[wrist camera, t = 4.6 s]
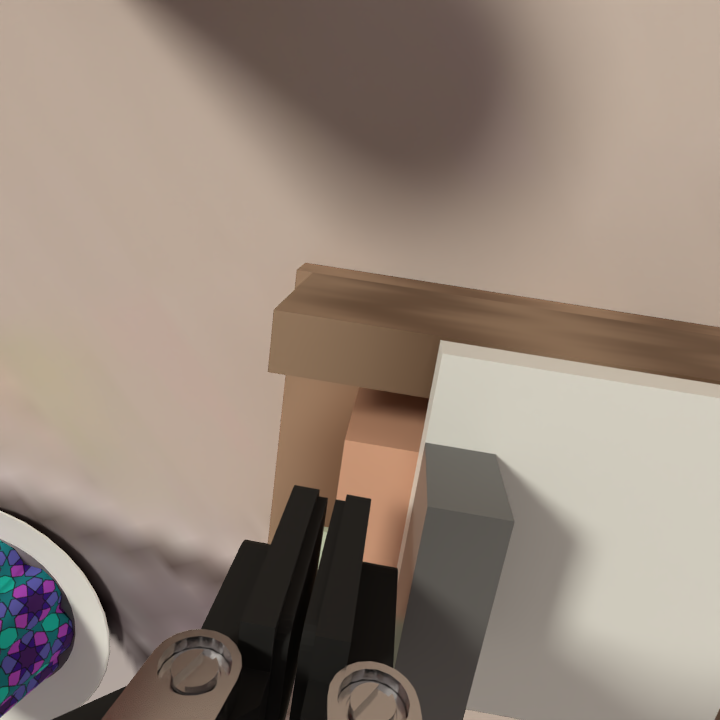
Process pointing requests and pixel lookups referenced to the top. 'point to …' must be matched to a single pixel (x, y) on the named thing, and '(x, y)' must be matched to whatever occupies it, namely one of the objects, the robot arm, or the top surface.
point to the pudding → (46, 629)
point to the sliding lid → (562, 543)
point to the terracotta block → (383, 465)
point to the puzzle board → (432, 354)
